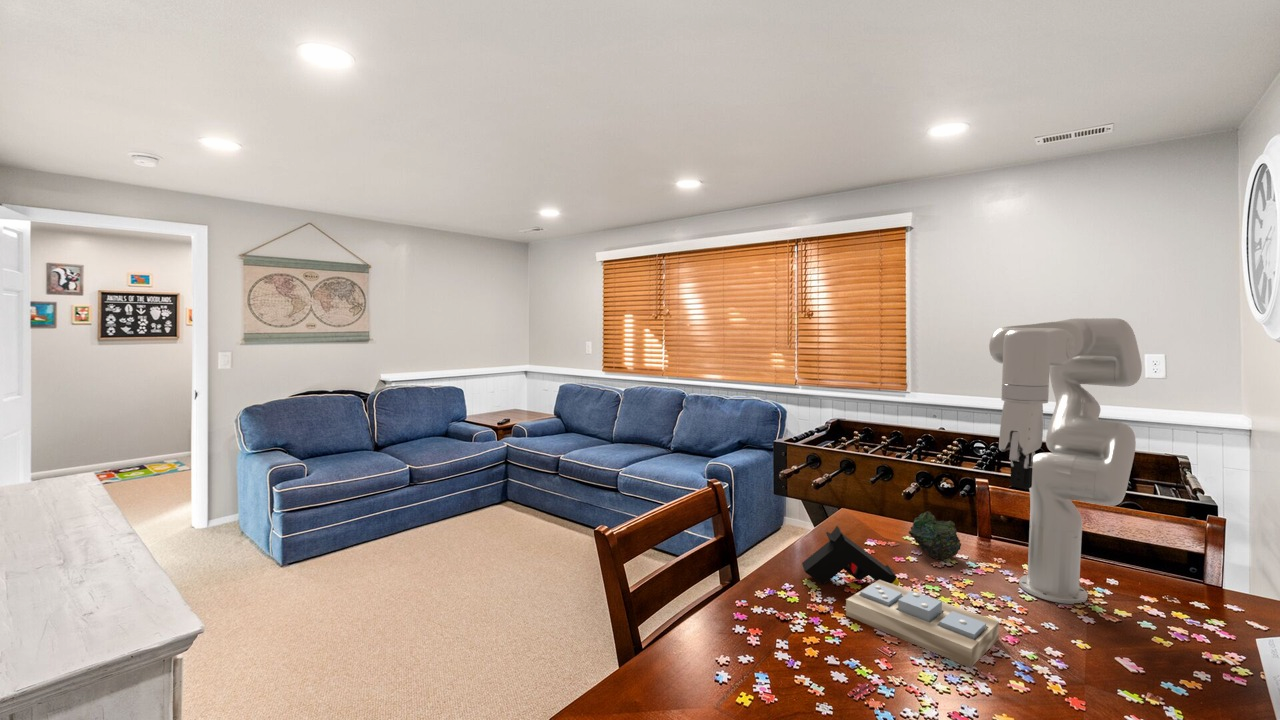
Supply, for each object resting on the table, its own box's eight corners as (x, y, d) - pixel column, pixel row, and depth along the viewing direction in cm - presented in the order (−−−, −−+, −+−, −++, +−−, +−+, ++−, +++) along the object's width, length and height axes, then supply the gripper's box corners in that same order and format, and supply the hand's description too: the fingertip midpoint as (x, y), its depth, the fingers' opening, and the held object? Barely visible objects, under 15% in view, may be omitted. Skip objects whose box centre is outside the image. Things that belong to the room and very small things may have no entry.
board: (878, 594, 129) (879, 579, 129) (998, 639, 111) (999, 621, 111) (845, 615, 120) (846, 599, 120) (970, 667, 102) (971, 648, 102)
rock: (894, 543, 159) (895, 508, 158) (929, 540, 161) (930, 505, 160) (927, 564, 145) (929, 526, 144) (966, 561, 147) (967, 523, 146)
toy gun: (867, 620, 133) (902, 579, 131) (804, 571, 134) (837, 531, 133) (862, 609, 138) (896, 570, 136) (801, 562, 139) (833, 523, 138)
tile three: (874, 594, 126) (874, 582, 125) (901, 604, 121) (902, 592, 121) (860, 603, 122) (860, 590, 121) (888, 614, 117) (888, 601, 117)
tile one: (952, 623, 113) (952, 610, 113) (985, 635, 109) (986, 622, 109) (939, 634, 110) (939, 620, 109) (973, 647, 105) (973, 633, 105)
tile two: (911, 602, 119) (911, 589, 119) (941, 613, 115) (942, 600, 115) (897, 611, 116) (898, 598, 115) (928, 623, 111) (929, 610, 111)
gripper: (1015, 388, 118) (1012, 476, 120) (988, 395, 109) (985, 490, 110) (1059, 392, 113) (1055, 483, 114) (1035, 399, 103) (1031, 499, 104)
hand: (1020, 486), depth 112 cm, fingers closed
